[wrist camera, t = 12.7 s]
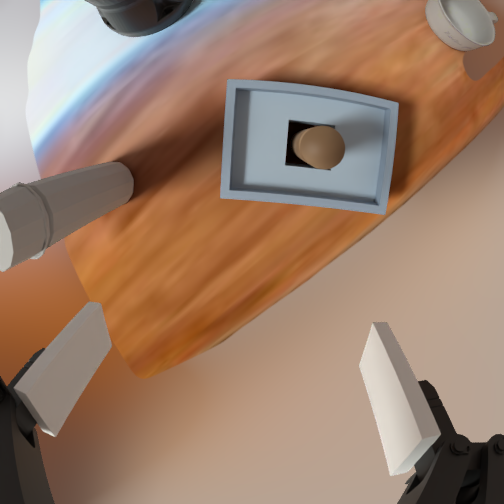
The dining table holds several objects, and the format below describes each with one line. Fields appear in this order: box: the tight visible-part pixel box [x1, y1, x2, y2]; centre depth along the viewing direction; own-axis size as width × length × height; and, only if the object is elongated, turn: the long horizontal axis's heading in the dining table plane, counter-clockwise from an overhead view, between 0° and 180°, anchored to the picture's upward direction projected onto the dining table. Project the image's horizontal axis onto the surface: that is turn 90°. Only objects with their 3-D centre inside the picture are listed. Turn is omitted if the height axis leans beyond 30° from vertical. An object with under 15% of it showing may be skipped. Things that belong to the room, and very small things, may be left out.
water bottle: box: [0, 162, 134, 272], centre depth 29 cm, size 9×8×25 cm
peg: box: [290, 126, 345, 170], centre depth 31 cm, size 4×4×14 cm
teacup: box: [425, 0, 498, 51], centre depth 23 cm, size 14×11×8 cm
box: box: [220, 79, 399, 215], centre depth 34 cm, size 14×20×7 cm
